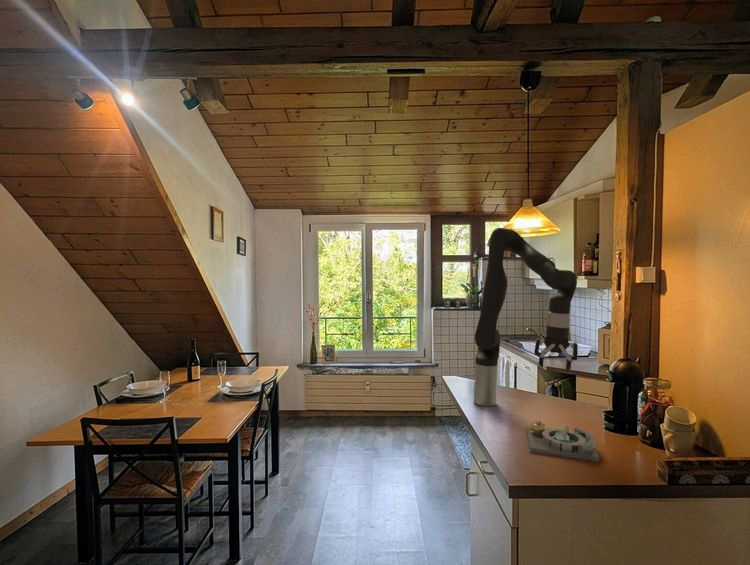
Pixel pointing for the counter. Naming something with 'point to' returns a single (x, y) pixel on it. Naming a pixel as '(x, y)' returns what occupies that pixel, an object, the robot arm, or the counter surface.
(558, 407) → the counter surface
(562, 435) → the pacifier
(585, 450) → the grey ring holder
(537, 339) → the robot arm
